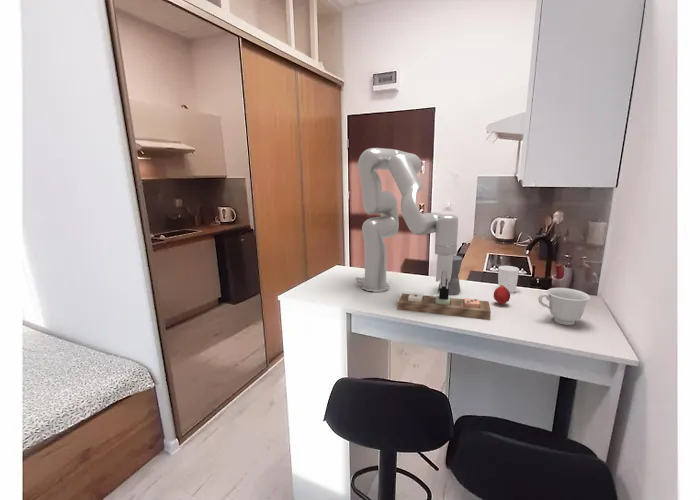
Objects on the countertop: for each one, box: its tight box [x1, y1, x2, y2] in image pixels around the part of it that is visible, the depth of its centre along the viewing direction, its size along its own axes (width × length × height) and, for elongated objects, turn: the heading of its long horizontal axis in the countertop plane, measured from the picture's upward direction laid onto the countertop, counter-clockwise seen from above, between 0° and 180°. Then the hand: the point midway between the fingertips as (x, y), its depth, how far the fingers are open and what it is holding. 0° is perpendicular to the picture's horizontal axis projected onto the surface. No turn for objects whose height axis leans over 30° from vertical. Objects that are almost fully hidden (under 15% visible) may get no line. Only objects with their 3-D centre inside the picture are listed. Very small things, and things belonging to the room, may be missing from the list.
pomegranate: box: [493, 285, 511, 306], centre depth 126 cm, size 6×6×8 cm
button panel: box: [397, 293, 492, 321], centre depth 123 cm, size 32×10×3 cm, turn 72°
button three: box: [463, 297, 480, 308], centre depth 119 cm, size 5×5×3 cm
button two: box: [436, 295, 451, 305], centre depth 122 cm, size 5×5×3 cm
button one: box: [408, 292, 424, 302], centre depth 125 cm, size 5×5×3 cm
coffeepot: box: [437, 254, 463, 296], centre depth 139 cm, size 15×9×18 cm, turn 129°
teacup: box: [537, 287, 591, 326], centre depth 110 cm, size 12×15×10 cm
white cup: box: [497, 265, 520, 294], centre depth 141 cm, size 8×8×10 cm
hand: (443, 298), depth 122 cm, fingers closed
